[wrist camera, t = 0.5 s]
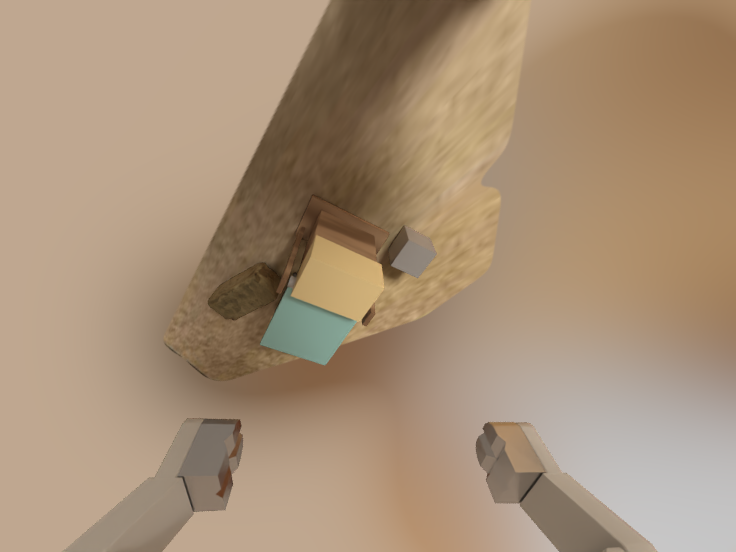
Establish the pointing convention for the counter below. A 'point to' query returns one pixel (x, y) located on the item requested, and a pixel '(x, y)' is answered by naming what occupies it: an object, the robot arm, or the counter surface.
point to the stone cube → (411, 252)
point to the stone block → (245, 292)
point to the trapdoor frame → (336, 236)
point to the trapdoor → (323, 302)
